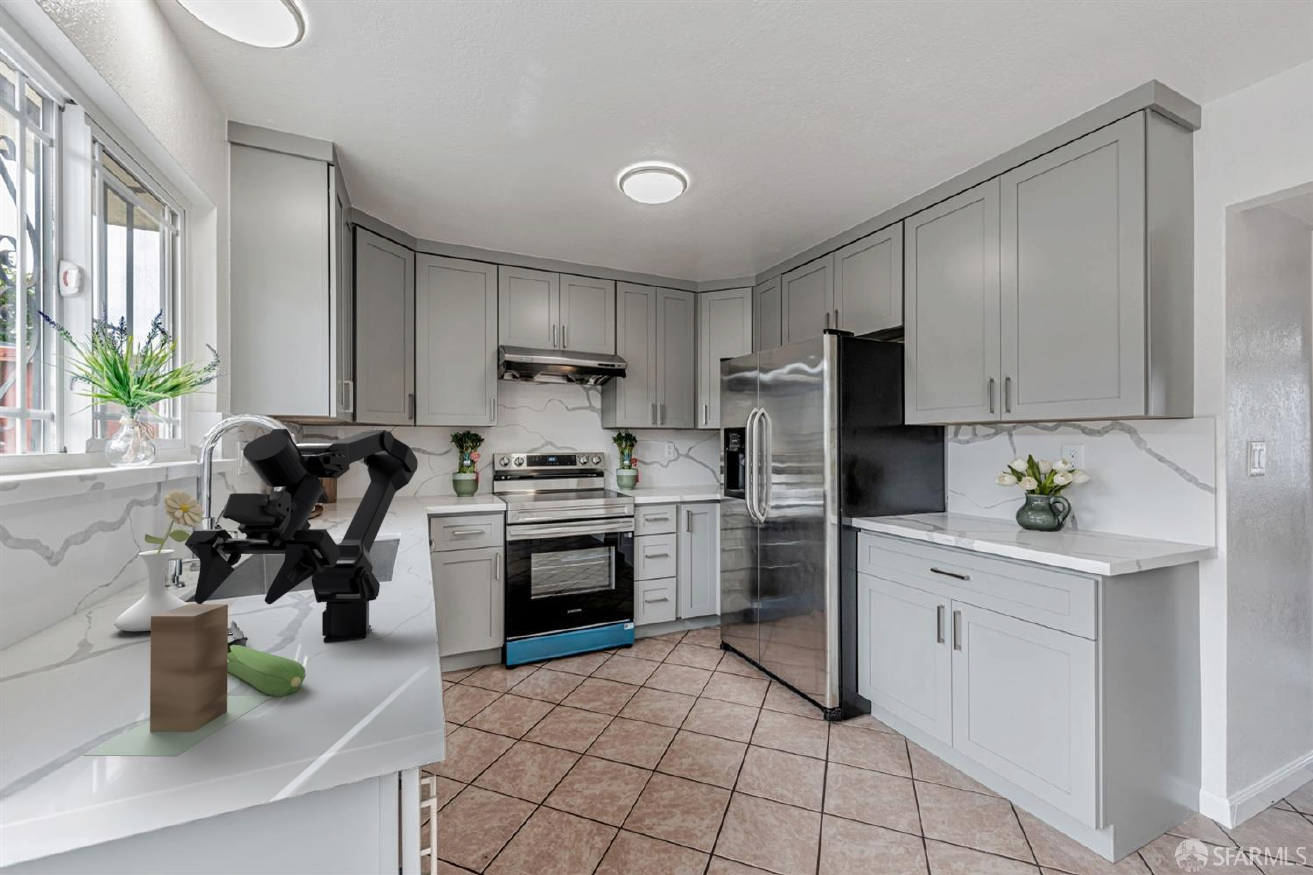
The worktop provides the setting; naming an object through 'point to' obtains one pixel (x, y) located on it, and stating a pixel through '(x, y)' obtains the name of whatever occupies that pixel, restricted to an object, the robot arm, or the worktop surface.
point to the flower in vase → (161, 565)
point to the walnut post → (188, 667)
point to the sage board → (175, 733)
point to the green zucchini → (266, 670)
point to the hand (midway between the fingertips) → (232, 602)
